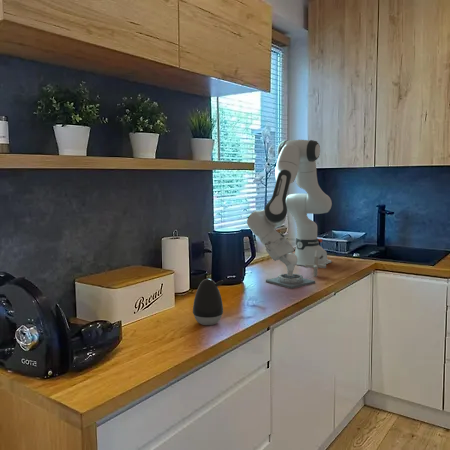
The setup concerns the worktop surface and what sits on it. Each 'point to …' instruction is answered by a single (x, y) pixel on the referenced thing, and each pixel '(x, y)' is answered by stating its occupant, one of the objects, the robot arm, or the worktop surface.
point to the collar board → (294, 285)
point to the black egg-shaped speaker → (208, 303)
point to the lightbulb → (291, 263)
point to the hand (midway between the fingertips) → (291, 263)
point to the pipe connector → (315, 265)
